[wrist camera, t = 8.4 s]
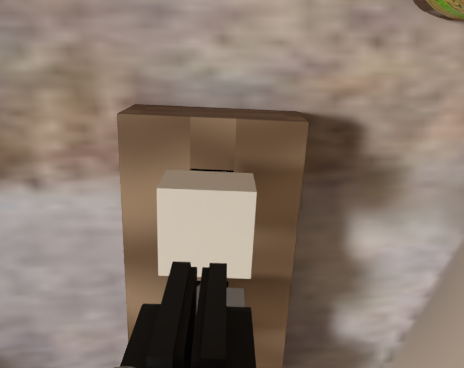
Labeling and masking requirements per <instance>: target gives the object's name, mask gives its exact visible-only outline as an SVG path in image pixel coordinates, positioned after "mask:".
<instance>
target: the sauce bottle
mask: <svg viewBox="0 0 464 368" xmlns="http://www.w3.org/2000/svg"><path fill="white" fill-rule="evenodd" d="M413 1H414V3H415V4H416V5H417V6H418V7H419V8H420V9H422V10H423V11H425V12H427V13H429V14H432V15H434V16H437V17H440V18H444V19H448V20H454V19H459V20H464V0H413Z"/></svg>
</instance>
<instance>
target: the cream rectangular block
mask: <svg viewBox="0 0 464 368" xmlns="http://www.w3.org/2000/svg"><path fill="white" fill-rule="evenodd" d="M256 196H257V191H256V186H255V181H254V176H253V173H237V172H214V171H188V170H166V172H165V173H164V175H163V177H162V179H161V181H160V183H159V185H158V186H157V239H158V276H169V273H170V269H171V266H172V262H173V261H175V262H191V267H197V277H201V275H202V268H203V267H209V264H210V263H227V278H241V279H251V268H252V254H253V239H254V225H255V211H256Z"/></svg>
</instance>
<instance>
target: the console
mask: <svg viewBox="0 0 464 368" xmlns="http://www.w3.org/2000/svg"><path fill="white" fill-rule="evenodd" d="M117 124H118V144H119V164H120V184H121V204H122V224H123V244H124V264H125V284H126V304H127V324H128V343H129V340H130V337H131V334H132V331H133V328H134V326H135V323H136V320H137V317H138V314H139V311H140V309H141V306H142V304H144V303H145V304H161V302H162V298H163V295H164V291H165V287H166V284H167V280H168V277H169V276H158V239H157V186H158V185H159V183H160V181H161V179H162V177H163V175H164V173H165V172H166V170H188V171H191V169H210V170H234V172H237V173H253V176H254V181H255V186H256V191H257V196H256V211H255V225H254V239H253V254H252V268H251V279H241V278H227V282H228V288H244V301H245V307H251V312H252V323H253V335H254V346H255V358H256V368H282V365H283V356H284V346H285V337H286V328H287V319H288V310H289V301H290V291H291V282H292V273H293V264H294V255H295V246H296V236H297V227H298V218H299V209H300V200H301V191H302V182H303V172H304V163H305V154H306V145H307V136H308V127H309V122H308V121H307V120H306V119H305V118H303V117H302V116H301V115H300V114H299V113H297V112H296V111H274V110H251V109H229V108H206V107H184V106H161V105H139V104H135V105H133V106H131V107H129V108H127V109H125V110H123V111H121V112H119V113H118V114H117ZM197 281H201V277H197Z"/></svg>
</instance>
